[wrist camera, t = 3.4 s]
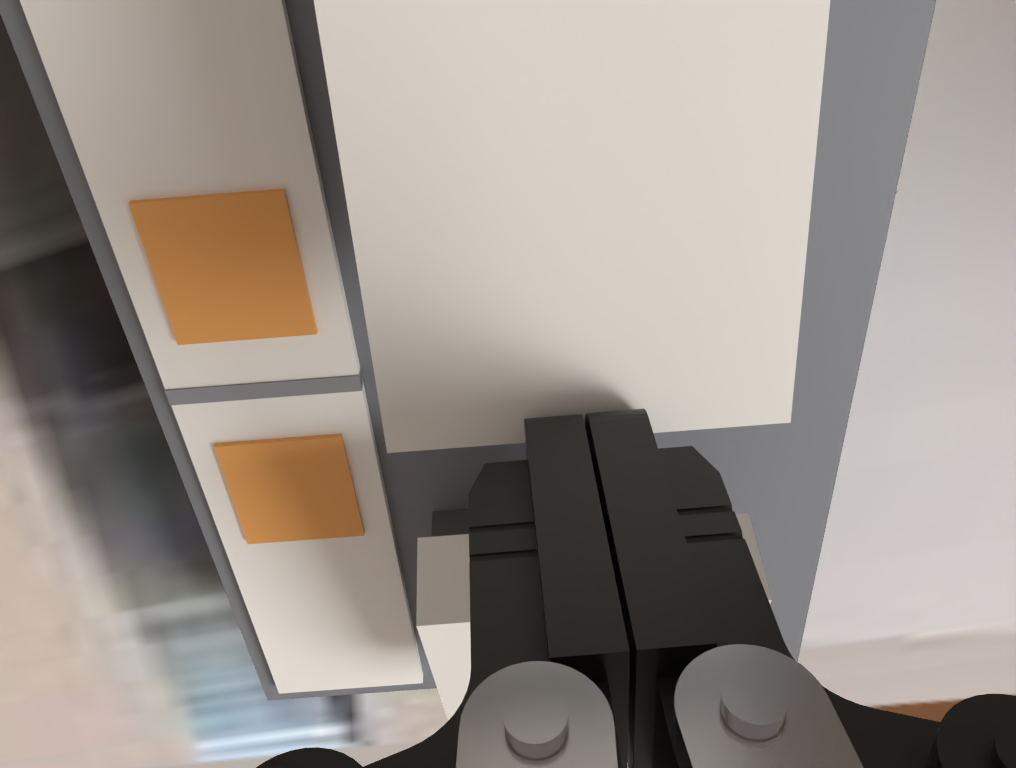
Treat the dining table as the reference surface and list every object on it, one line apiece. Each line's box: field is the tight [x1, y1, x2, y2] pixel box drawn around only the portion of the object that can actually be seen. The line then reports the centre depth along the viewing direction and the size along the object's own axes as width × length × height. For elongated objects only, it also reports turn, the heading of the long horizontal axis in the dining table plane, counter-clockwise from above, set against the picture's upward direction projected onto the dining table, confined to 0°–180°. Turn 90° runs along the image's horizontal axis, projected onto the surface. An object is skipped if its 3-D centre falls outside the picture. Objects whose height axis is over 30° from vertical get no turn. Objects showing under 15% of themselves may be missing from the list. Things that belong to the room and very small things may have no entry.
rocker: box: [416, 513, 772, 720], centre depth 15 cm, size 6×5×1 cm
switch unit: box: [0, 0, 936, 700], centre depth 13 cm, size 26×12×4 cm, turn 4°
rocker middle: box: [314, 0, 830, 453], centre depth 10 cm, size 6×5×1 cm
